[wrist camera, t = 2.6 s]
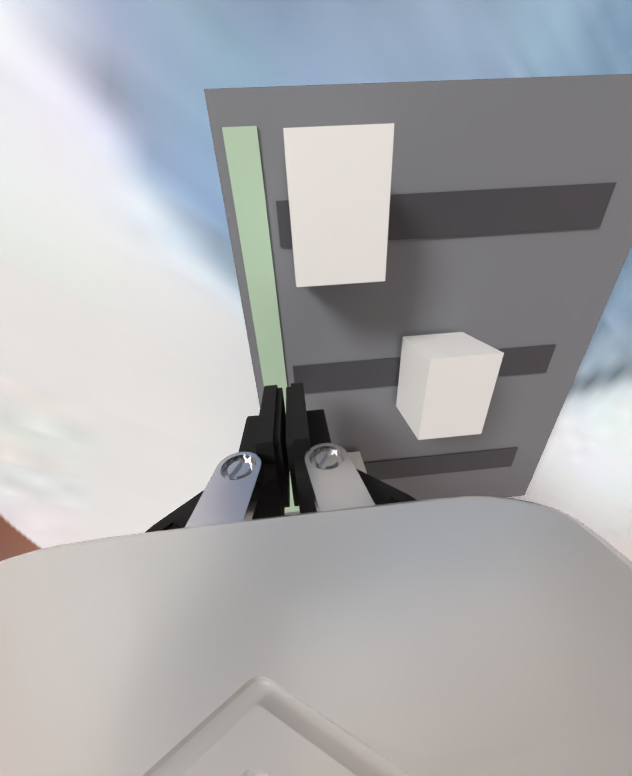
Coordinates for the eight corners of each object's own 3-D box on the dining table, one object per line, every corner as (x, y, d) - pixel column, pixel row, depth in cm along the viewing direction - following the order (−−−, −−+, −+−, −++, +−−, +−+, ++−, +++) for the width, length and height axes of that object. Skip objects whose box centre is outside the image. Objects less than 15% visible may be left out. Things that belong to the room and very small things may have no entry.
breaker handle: (462, 331, 14) (504, 353, 11) (448, 401, 15) (481, 433, 13) (402, 336, 13) (430, 359, 11) (396, 406, 15) (418, 439, 13)
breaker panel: (643, 97, 12) (878, -1, 7) (505, 475, 22) (563, 537, 17) (217, 114, 11) (163, 15, 6) (281, 498, 21) (278, 570, 16)
